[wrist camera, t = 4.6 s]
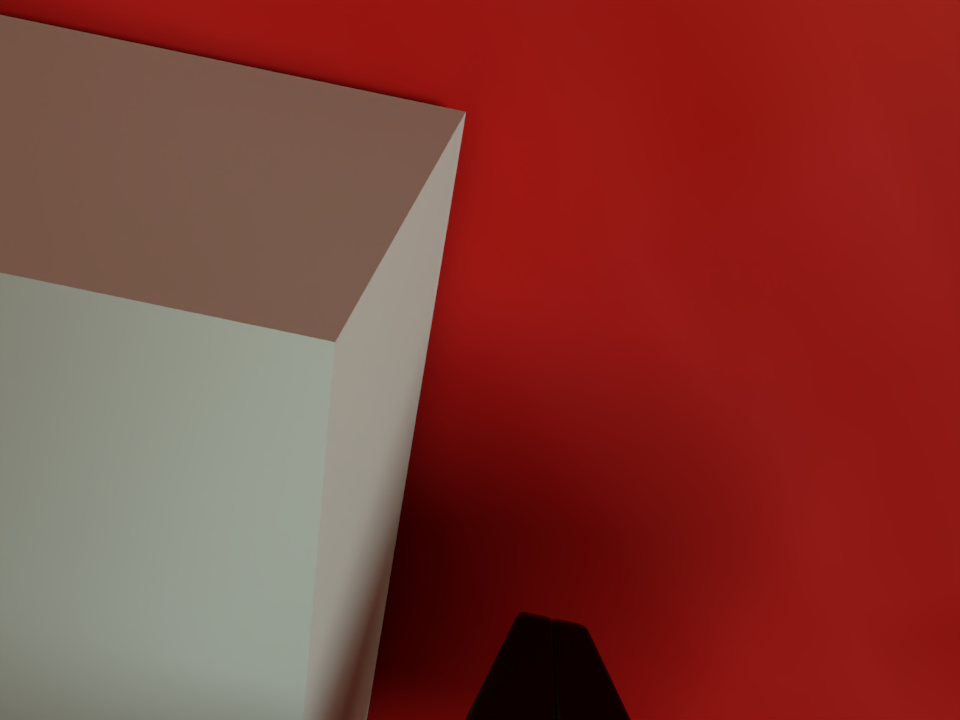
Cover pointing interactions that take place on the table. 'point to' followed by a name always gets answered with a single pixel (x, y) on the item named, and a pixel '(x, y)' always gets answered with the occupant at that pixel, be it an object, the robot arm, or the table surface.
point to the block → (204, 377)
